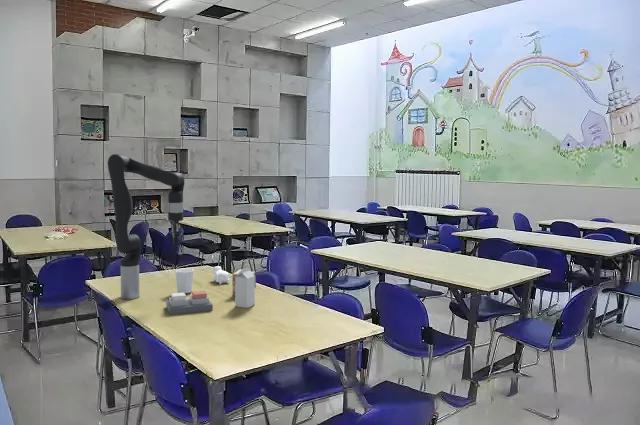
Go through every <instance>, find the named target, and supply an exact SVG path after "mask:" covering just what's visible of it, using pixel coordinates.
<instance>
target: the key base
mask: <svg viewBox="0 0 640 425" xmlns="http://www.w3.org/2000/svg"><path fill="white" fill-rule="evenodd" d="M168 298H169V300H166V301H165V306H166V309H167V312H168V313H169V315H170V316H172V315H181V314H193V313H203V312H212V311H213V307H214V306H213V303H212V302H211V301H210V298H209V297H208V295H207V298H203V299H193V298H192V295H190V296H189V298H188V297H186V300H181V301H172V300H171V297H168Z"/></svg>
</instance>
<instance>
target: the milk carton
mask: <svg viewBox="0 0 640 425" xmlns="http://www.w3.org/2000/svg"><path fill="white" fill-rule="evenodd" d="M251 271H252V270H251V269H250V267H245V268H242V270H241V271H240V272H239V274H238V275H237V276H236V277H235V296H234V299H235V300H234V304H235V305H234V306H235V307H240V308H244V309H248V308H251V307H252V306H255V305H256V304H255V303H256V302H255V301H256V300H255V298H256V297H255V296H256V295H255V294H256V293H255V292H256V290H255V288H256V287H255V277H256V276H254V274H253V273H252V272H253V271H252V272H251Z"/></svg>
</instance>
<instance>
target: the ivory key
mask: <svg viewBox="0 0 640 425" xmlns="http://www.w3.org/2000/svg"><path fill="white" fill-rule="evenodd" d="M170 294H171V300H172V301H181V300H186V298H187V294H186V293H178V292H174V293H170Z"/></svg>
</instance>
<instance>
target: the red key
mask: <svg viewBox="0 0 640 425" xmlns="http://www.w3.org/2000/svg"><path fill="white" fill-rule="evenodd" d="M191 296H192V298H193V299H203V298H207V296H208V293H207V292H206V291H205V290H200V291H199V290H198V291H192V292H191Z"/></svg>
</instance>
